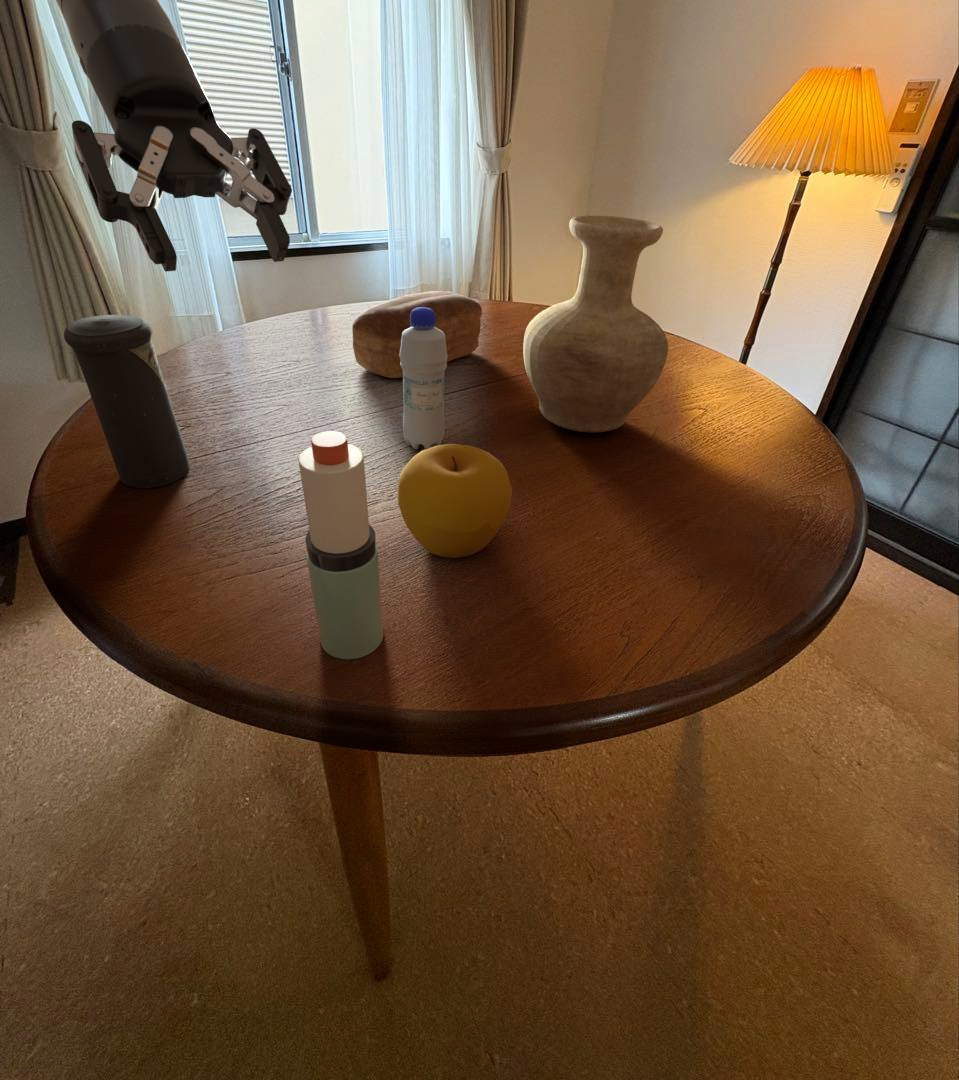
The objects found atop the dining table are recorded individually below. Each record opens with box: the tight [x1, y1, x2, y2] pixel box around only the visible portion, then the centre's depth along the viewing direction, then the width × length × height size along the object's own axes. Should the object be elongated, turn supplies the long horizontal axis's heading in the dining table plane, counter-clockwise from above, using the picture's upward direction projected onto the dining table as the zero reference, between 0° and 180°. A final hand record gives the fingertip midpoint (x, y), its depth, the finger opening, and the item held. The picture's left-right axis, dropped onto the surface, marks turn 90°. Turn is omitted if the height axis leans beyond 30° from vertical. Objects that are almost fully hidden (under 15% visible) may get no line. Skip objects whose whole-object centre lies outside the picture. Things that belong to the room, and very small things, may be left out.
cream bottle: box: [297, 430, 370, 554], centre depth 44 cm, size 5×5×9 cm
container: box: [63, 314, 191, 489], centre depth 69 cm, size 9×9×20 cm
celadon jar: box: [304, 523, 385, 660], centre depth 50 cm, size 6×6×12 cm
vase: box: [522, 215, 669, 434], centre depth 87 cm, size 22×22×30 cm
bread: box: [351, 290, 483, 379], centre depth 112 cm, size 14×28×12 cm, turn 141°
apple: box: [396, 443, 513, 559], centre depth 64 cm, size 13×13×11 cm
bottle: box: [400, 307, 448, 450], centre depth 80 cm, size 7×7×20 cm
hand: (229, 259), depth 44 cm, fingers open, 8 cm apart
